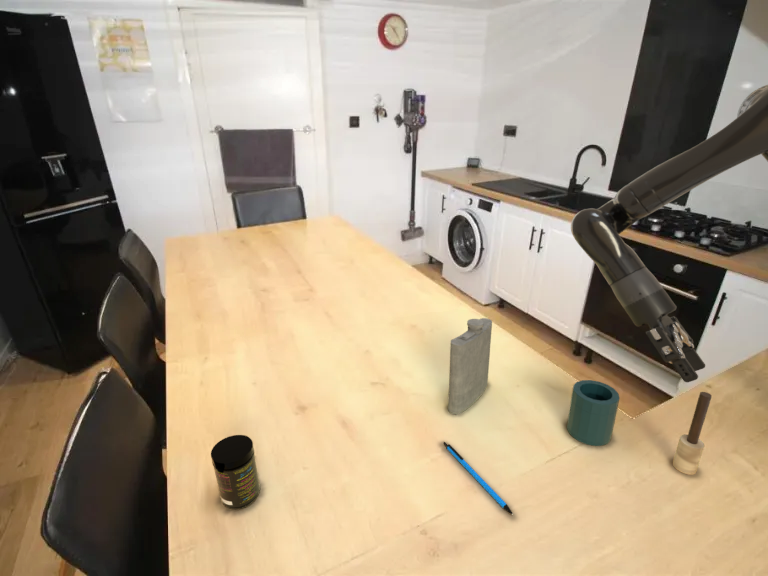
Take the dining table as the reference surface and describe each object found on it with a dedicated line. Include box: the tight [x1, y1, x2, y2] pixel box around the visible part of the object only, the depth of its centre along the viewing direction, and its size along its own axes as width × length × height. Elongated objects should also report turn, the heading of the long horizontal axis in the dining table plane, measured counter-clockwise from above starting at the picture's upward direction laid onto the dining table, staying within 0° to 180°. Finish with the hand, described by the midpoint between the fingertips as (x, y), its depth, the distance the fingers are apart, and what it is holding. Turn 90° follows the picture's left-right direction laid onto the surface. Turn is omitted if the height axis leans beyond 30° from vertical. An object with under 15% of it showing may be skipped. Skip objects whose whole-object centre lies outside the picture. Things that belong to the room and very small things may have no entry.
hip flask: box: [447, 317, 493, 415], centre depth 94 cm, size 16×4×20 cm, turn 141°
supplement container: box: [210, 434, 261, 510], centre depth 71 cm, size 7×7×10 cm
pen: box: [443, 441, 514, 516], centre depth 75 cm, size 1×19×1 cm, turn 28°
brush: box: [672, 391, 713, 476], centre depth 73 cm, size 4×4×16 cm
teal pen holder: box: [566, 379, 620, 447], centre depth 83 cm, size 8×8×10 cm
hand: (696, 374), depth 73 cm, fingers open, 8 cm apart
